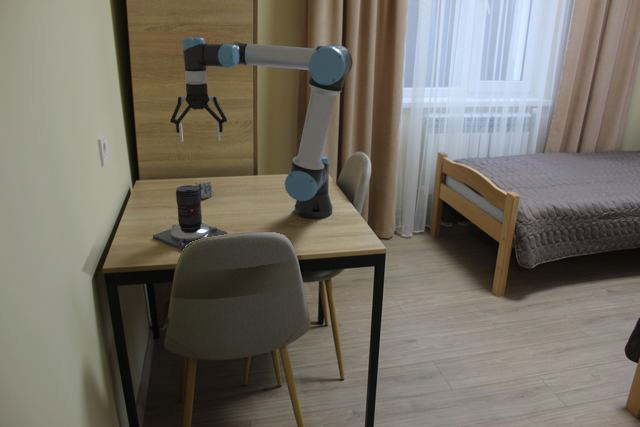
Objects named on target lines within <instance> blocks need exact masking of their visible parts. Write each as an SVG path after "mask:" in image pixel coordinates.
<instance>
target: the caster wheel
mask: <svg viewBox="0 0 640 427" xmlns="http://www.w3.org/2000/svg"><path fill="white" fill-rule="evenodd" d="M195 186H198V187H199V188H200V194H201V200H202V199H210V198H212V197H213V196H212V192H213V187H212V182H211V181H207V182H206V181H205V182H204V181H203V182H195Z"/></svg>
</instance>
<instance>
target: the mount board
mask: <svg viewBox="0 0 640 427" xmlns="http://www.w3.org/2000/svg"><path fill="white" fill-rule="evenodd" d="M171 227H172V228H169V229H167V230H164V231H160V232H158V233H155V234H152V239H153V240H156V241H158V242H161V243H163V244H166V245H167V246H170V247H172V248H175V249H176V250H177V249H178V250H180V251H182V250H183V249H184V248H185V246H186V245H188V244H189V243H190V242H192V241H195V240H198V239H201V238H206V237H212V236H218V235H224V234H227V235H228V232H227V231H224V230H222V229H219V228H218V227H216V226H210V225H208V224H206V223H203V222H202V224H201V229H200V230H198V231H196V232H190V233H187V232H183V231H182V230H181V227H180V226H179V224H172V225H171Z"/></svg>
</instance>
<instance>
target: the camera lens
mask: <svg viewBox="0 0 640 427" xmlns="http://www.w3.org/2000/svg"><path fill="white" fill-rule="evenodd" d="M175 198H176V200H175V201H176V205H177V219H178V220H177V221H178V225H179V226H180V227H181V230H182V231H183V232H187V233H190V232H196V231H198V230H200V229H201V224H202V223H203V222H202V220H203V217H202V205H201V204H202V198H201V194H200V188H199V187H198V186H196V185H192V184H191V185H190V184H188V185H186V184H185V185H180V186H178V187H176V189H175Z"/></svg>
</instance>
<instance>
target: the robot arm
mask: <svg viewBox="0 0 640 427" xmlns="http://www.w3.org/2000/svg"><path fill="white" fill-rule="evenodd" d="M182 52H183V62H184V77H185V78H184V79H185V82H186V84H185V91H186V96H185V97H184V96H181V95H179V96H178V97H177V104H176V106H175V109H174V111H173V113H172V115H171V118H170V123H172V124H175V129H176V133H177V134H179V142H180V143H183V142H184V135H183V134H184V133H183V123H182V120H183V119H184V118H185V117H186V115H187V114H188V112H189V111H190V110H191V109H193V110H203V109H205V110H206V111H207V112H208V113H209V114H210V115H211V116H212V117H213V119H214V120H216V122H217V124H216V130H217V131H216V132H217V135H216V136H217V143H218V142H221V133H222V132H223V131H224V130H223V128H224V127H223V126H224V125H223V123H227V121H228V118H227V116H226V114H225V112H224V111H223V109H222V107H221V105H220V103H219V102H218V97H217V96H216V95H214V96H209V91H208V89H209V88H208V84H207V82H208V78H207V75H208V74H207V67H220V68H221V67H222V68H234V67H236V66H238V65H241V66H242V65H244V66H257V67H269V68H280V69H281V68H282V69H292V70H293V69H294V70H302V71H303V70H304V71H308V72H309V77H308V86H309V87H310V89H311V91H310V96H309V101H308V105H307V109H306V114H305V120H304V124H303V129H302V134H301V139H300V143H299V149H298V153H297V155H296V156H295V157H293V158H292V162H291V166H290V170H289V173H288V174H287V176H286V178H285V180H284V188H285V191H286V193H287V194H288V196H290V197H291V198H292V199H294V200H295V204H294V214H296V215H297V216H298V217H301V218H305V219H307V218H308V219H322V218H326V217H329V216H330V215H332V214H333V204H332V202H331V198H330V195H329V189H330V188H329V182H330V181H329V180H330V177H329V176H330V159H329V157H328V156H326V155H323V154H324V149H325V146H326V142H327V137H328V133H329V128H330V126H331V125H330V124H331V119H332V117H333V110H334V106H335V104H336V103H335V102H336V98H337V95H339V94H340V93H342V91H343V88H344V83H345V79H346V77H347V76H348V75H349V74H350V72H351V70H352V68H353V64H354V63H353V57H352V54H351V52H350V51H349V49H347V48H346V47H345V46H343V45H340V44H331V45H316V46H315V47H314V48H313V47H312V48H311V47H302V46H301V47H297V46H287V45H286V46H285V45H271V44H259V43H258V44H257V43H256V44H255V43H244V42H240V41H235V42H230V43H229V42H228V43H206V42H205V38H203V37H196V36H195V37H194V36H193V37H191V36H188V37H184V38H183V40H182ZM185 102H186V103H187V104H188V105H187V107H186V108H185V109H184V110H183V112H182V113H181V114H180V115H179V117H178V118H177V119H176V117H177V116H178V113H179V111H180V108H181V106H182V104H183V103H185ZM209 102H211V103H212V104H213V105H214V107H215V108H216V110H217V112H218V114H219V115H220V116H219V115H218V114H217V113H216V112H215V111H214V110H213V108H211V106H210V104H208V103H209ZM220 117H221V118H220ZM180 122H181V123H180Z"/></svg>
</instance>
